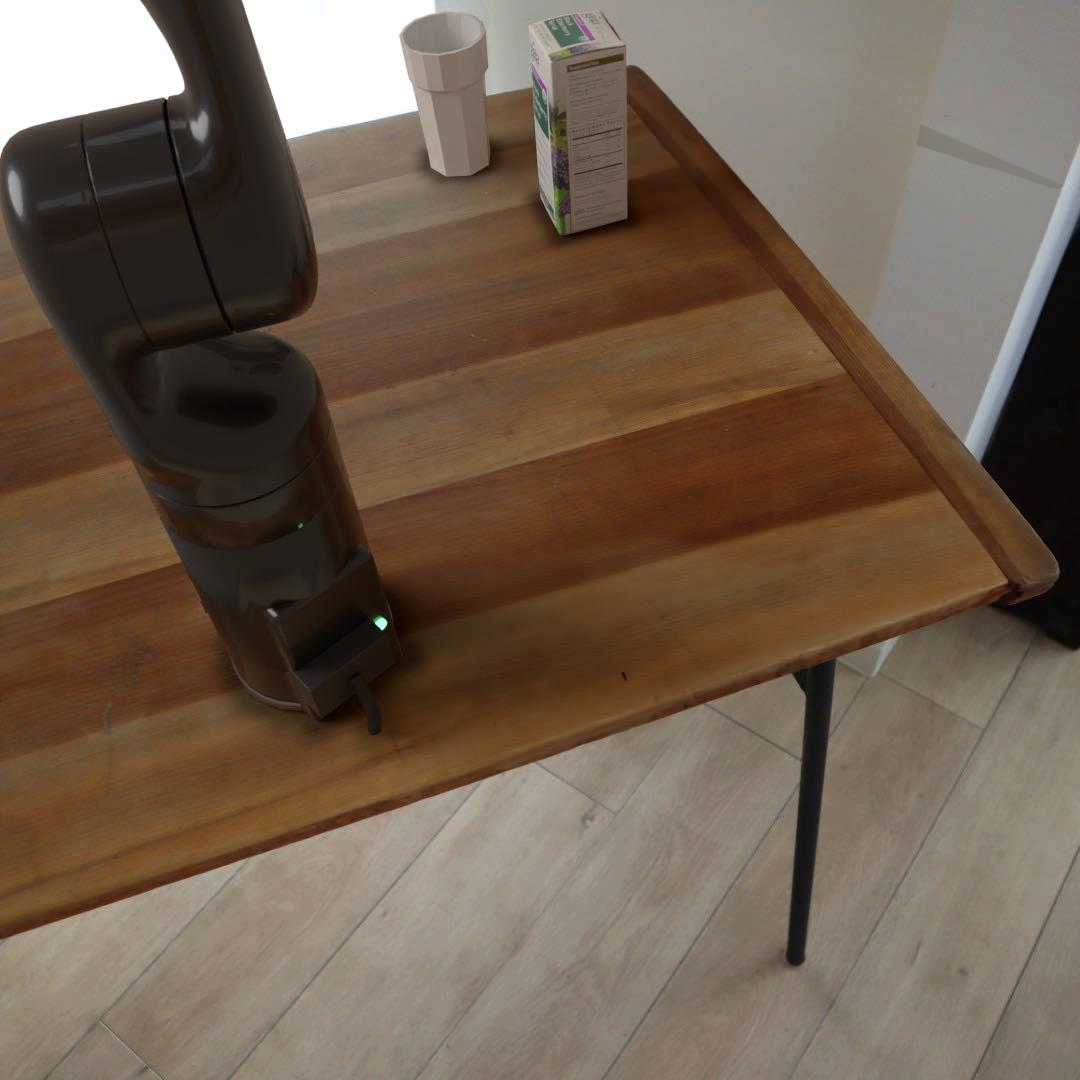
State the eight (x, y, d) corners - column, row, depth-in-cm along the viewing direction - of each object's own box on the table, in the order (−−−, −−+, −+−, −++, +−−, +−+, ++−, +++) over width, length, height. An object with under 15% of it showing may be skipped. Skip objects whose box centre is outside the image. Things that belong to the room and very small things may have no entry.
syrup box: (538, 198, 94) (522, 22, 83) (607, 180, 95) (601, 4, 84) (560, 238, 91) (546, 60, 80) (632, 219, 92) (629, 41, 80)
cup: (411, 149, 100) (389, 24, 92) (485, 129, 101) (469, 3, 93) (435, 190, 96) (413, 63, 88) (510, 169, 97) (497, 41, 89)
